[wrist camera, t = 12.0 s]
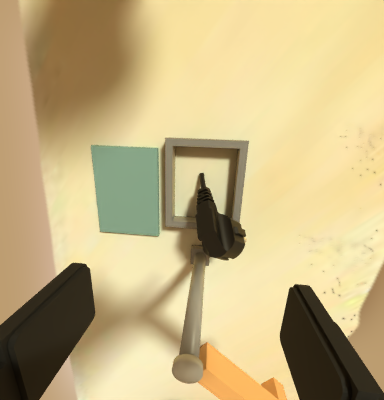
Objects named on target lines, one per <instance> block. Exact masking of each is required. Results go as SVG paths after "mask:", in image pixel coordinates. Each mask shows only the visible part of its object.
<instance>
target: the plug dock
mask: <svg viewBox="0 0 384 400" xmlns="http://www.w3.org/2000/svg"><path fill="white" fill-rule="evenodd" d="M248 144H249V141H239V140H214V139H188V138H165V201H166V227H180V228H193V229H197V224H196V218H195V217H181V216H174V212H175V146H189V147H212V148H236V149H238V156H237V166H236V176H235V186H234V196H233V206H232V216H231V219H233V220H235V221H237V222H240V213H241V204H242V196H243V187H244V178H245V170H246V161H247V152H248ZM191 264H193V270H192V276H191V283H190V289H189V296H188V302H187V308H186V315H185V321H184V328H183V334H182V340H181V347H180V353H179V355H181V354H191V355H194V356H196V357H198V358H199V352H200V337H201V321H202V305H203V290H204V274H205V266H209V256H208V255H206V254H205V253H204V251H203V246H196V245H192V247H191Z"/></svg>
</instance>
